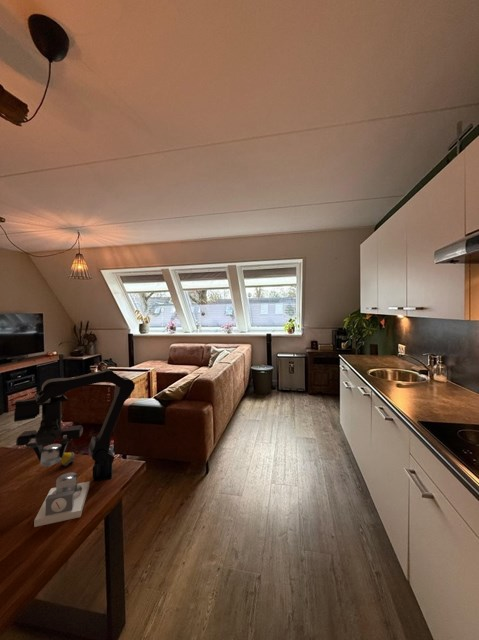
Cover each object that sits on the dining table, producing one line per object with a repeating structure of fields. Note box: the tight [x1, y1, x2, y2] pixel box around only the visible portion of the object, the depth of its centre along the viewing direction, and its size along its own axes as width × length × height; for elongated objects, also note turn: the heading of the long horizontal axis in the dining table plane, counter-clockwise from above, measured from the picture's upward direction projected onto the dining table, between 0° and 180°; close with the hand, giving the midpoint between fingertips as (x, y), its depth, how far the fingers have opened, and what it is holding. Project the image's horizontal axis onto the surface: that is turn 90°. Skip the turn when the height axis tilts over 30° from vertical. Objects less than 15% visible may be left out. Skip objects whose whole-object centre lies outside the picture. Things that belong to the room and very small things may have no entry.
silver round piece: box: [55, 471, 78, 494], centre depth 89 cm, size 6×6×5 cm
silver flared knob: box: [40, 443, 62, 467], centre depth 93 cm, size 6×6×5 cm
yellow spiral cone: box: [60, 451, 76, 467], centre depth 112 cm, size 5×5×10 cm
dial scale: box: [33, 481, 91, 528], centre depth 87 cm, size 12×16×7 cm
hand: (51, 458), depth 93 cm, fingers closed on silver flared knob, 6 cm apart
